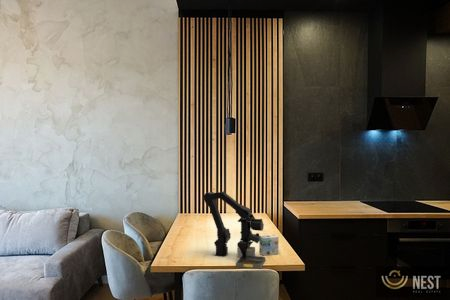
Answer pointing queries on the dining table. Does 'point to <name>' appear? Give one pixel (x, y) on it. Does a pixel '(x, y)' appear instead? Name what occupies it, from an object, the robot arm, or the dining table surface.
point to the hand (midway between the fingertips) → (246, 255)
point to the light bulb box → (269, 244)
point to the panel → (249, 252)
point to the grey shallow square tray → (250, 262)
